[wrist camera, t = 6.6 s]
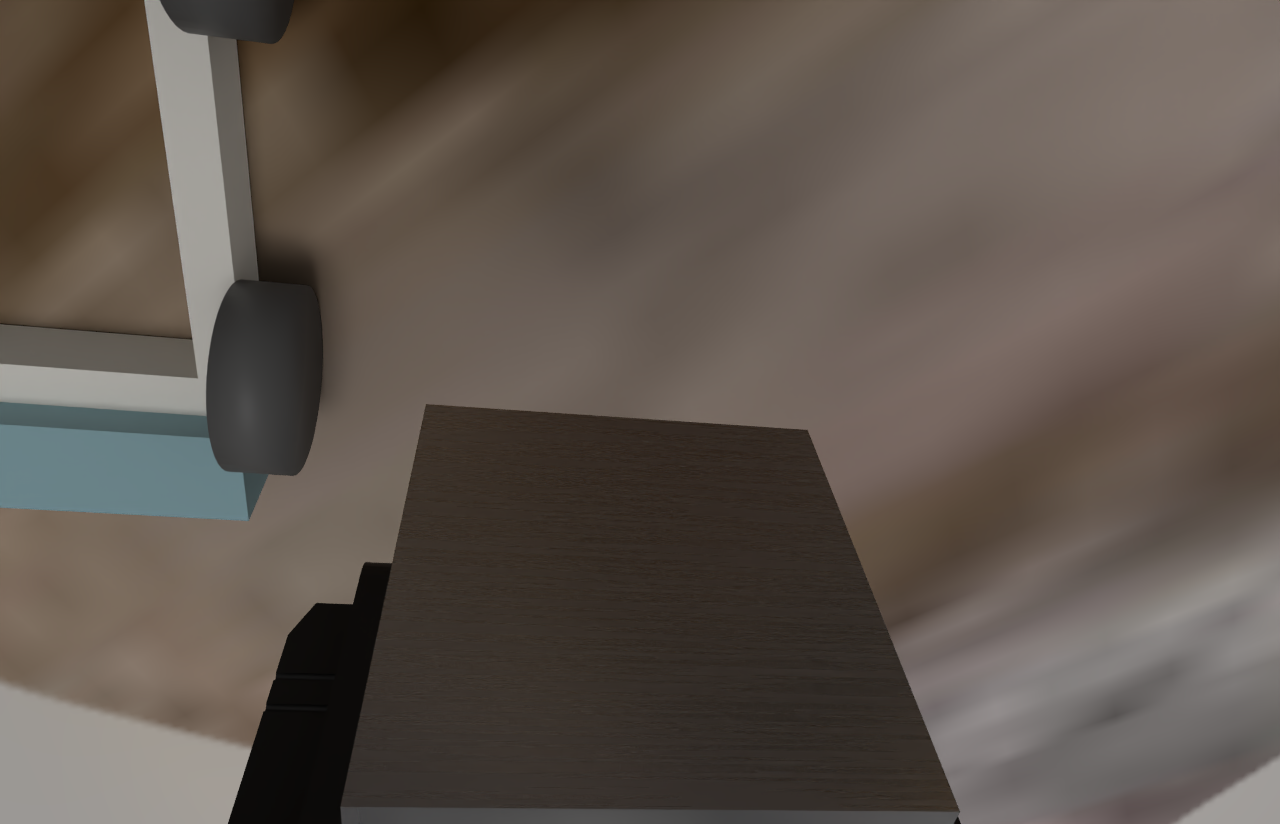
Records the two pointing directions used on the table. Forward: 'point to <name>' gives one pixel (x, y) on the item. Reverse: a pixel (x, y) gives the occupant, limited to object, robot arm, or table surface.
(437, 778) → the block
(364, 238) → the table surface
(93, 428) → the chassis
